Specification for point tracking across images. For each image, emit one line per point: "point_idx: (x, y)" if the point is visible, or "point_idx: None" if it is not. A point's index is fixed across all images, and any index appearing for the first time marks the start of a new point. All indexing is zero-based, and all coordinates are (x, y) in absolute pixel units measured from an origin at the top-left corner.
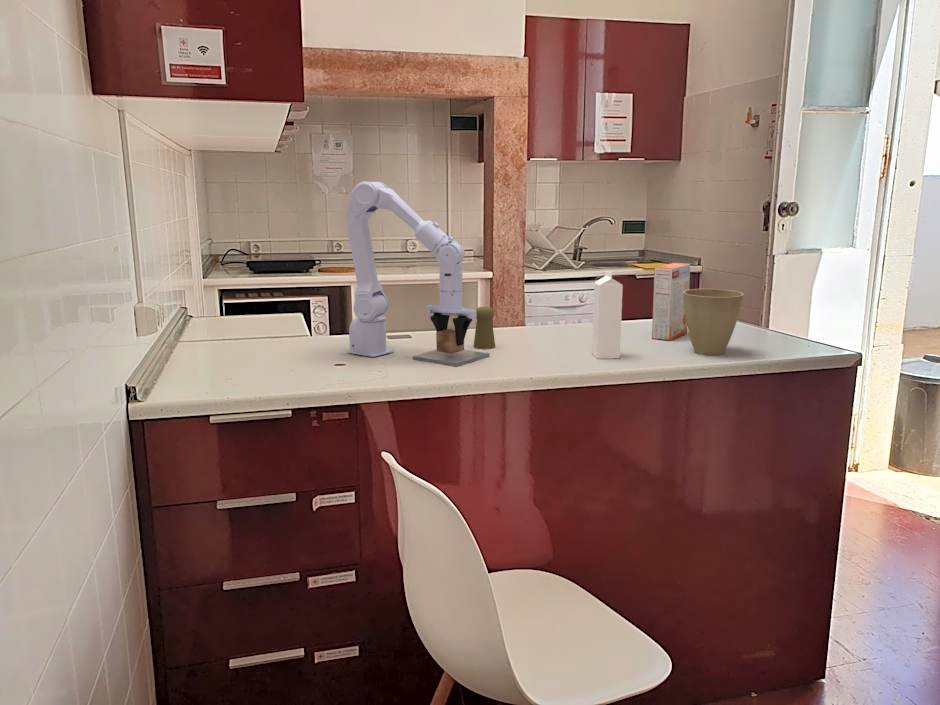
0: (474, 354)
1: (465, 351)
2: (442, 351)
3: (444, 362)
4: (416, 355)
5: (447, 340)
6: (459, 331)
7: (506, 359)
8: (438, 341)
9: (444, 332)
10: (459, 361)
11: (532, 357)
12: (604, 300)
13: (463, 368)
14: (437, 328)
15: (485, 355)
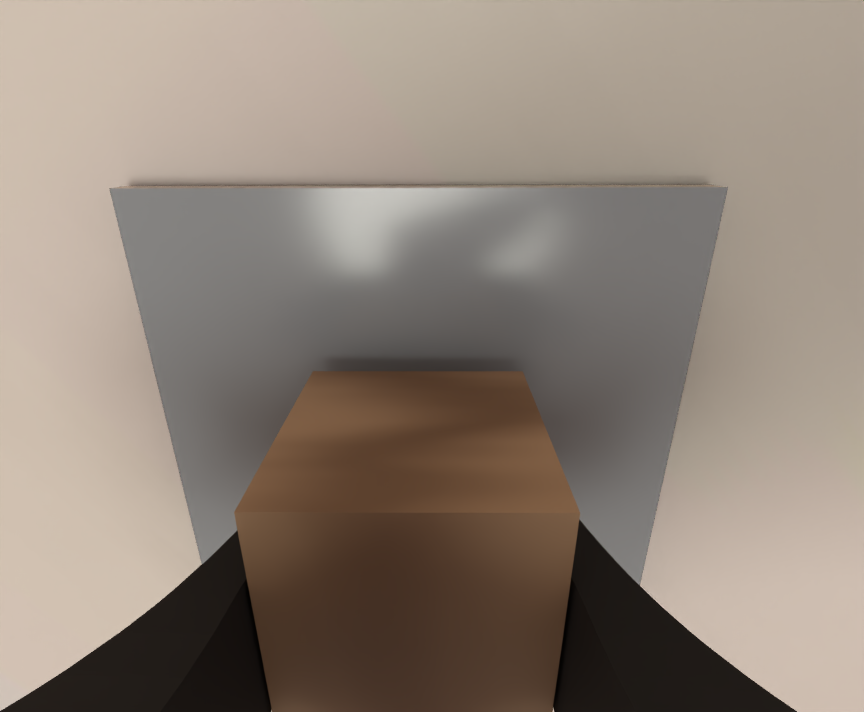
0: None
1: None
2: (442, 374)
3: (275, 186)
4: (703, 235)
5: (353, 447)
6: (139, 619)
7: (74, 599)
8: (511, 428)
9: (436, 551)
10: (161, 280)
11: None
12: None
13: (29, 171)
14: (624, 614)
15: None
